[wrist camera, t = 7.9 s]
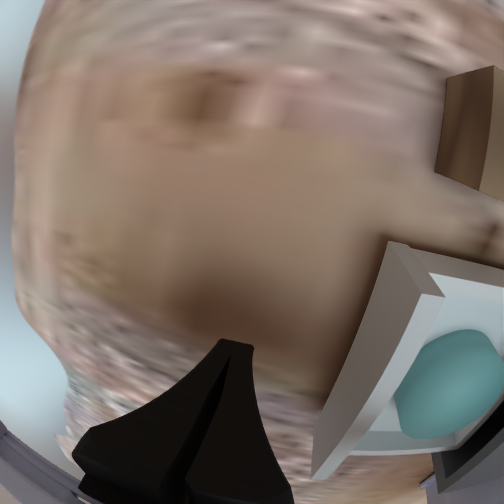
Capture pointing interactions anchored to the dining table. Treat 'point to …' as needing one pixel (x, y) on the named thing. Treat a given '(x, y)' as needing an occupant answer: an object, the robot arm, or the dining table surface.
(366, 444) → the tray
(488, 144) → the walnut block
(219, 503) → the robot arm
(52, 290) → the dining table surface
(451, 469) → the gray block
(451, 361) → the teal round puck
